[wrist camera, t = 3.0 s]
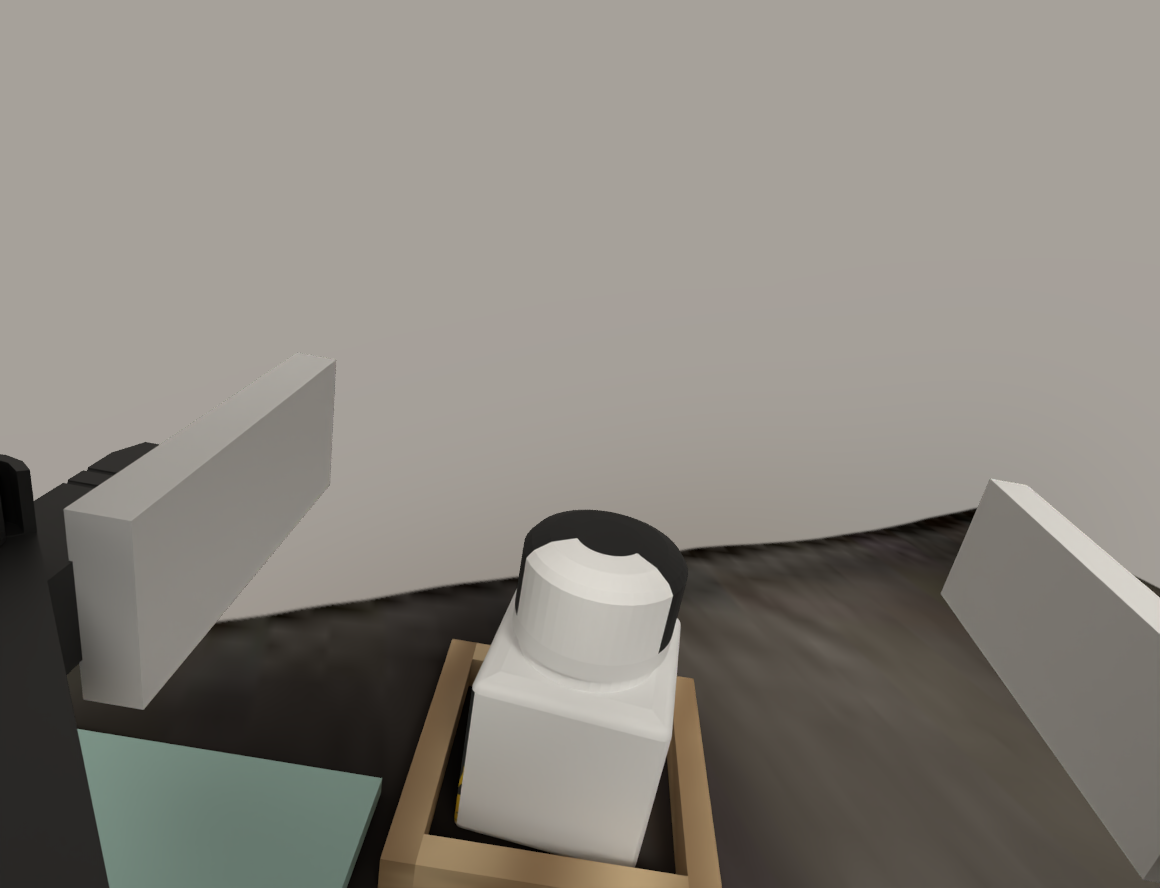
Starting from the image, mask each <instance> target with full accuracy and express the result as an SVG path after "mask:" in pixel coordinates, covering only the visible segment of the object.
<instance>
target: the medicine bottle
mask: <svg viewBox="0 0 1160 888" xmlns="http://www.w3.org/2000/svg"><path fill="white" fill-rule="evenodd" d="M687 577H688V568H687V565H686V562H685V560H684V558H683V556H682V554H681V553H680V551H679V549H678V548H677V546H676V545H675V544H674V543H673V542H672V541H671V540H670V539H669V538H668V537H667V536H666V535H664V534H663V533H662V532H660V531H658V530H657V529H656V528H654V527H652V526H650V525H648V524H646V523H644V522H642V521H639V520H637V519H634V518H631V517H628V516H625V515H621V514H617V513H612V512H607V511H598V510H573V511H566V512H562V513H558V514H555V515H552V516H550V517H548V518H546V519H544V520H543V521H541V522H540V523H539V524H537V525H536V526H535V527H534V528H532V529H531V530H530V532H529V533H528V534H527V536H526V538H525V542H524V548H523V554H522V560H521V566H520V573H519V579H518V585H517V589H516V591H515V594H514V596H513V598H512V600H511V602H510V605H509V607H508V609H507V611H506V613H505V615H504V618H503V620H502V622H501V624H500V626H499V628H498V631H497V633H496V635H495V637H494V639H493V642H492V644H491V646H490V648H489V650H488V652H487V655H486V657H485V659H484V661H483V663H482V666H481V668H480V670H479V672H478V674H477V676H476V679H475V681H474V683H473V685H472V692H471V699H470V707H469V714H468V721H467V728H466V736H465V743H464V750H463V758H462V765H461V772H460V779H459V787H458V794H457V801H456V809H455V817H454V820H455V823H456V825H457V826H458V827H460V828H463V829H467V830H470V831H474V832H477V833H481V834H485V835H488V836H492V837H495V838H499V839H503V840H506V841H510V842H514V843H517V844H521V845H524V846H528V847H532V848H535V849H539V850H542V851H546V852H550V853H553V854H557V855H561V856H565V857H571V858H577V859H583V860H590V861H596V862H602V863H608V864H614V865H621V866H627V867H633V868H635V866H636V863H637V860H638V856H639V852H640V849H641V845H642V842H643V838H644V834H645V831H646V827H647V824H648V820H649V817H650V813H651V809H652V806H653V802H654V799H655V795H656V792H657V788H658V784H659V781H660V777H661V774H662V770H663V767H664V763H665V759H666V756H667V752H668V749H669V745H670V741H671V738H672V729H673V716H674V704H675V691H676V678H677V666H678V653H679V641H680V628H681V626H680V621H679V620H678V619H677V616H678V612H679V608H680V604H681V601H682V597H683V593H684V589H685V585H686V581H687Z"/></svg>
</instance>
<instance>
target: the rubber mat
mask: <svg viewBox="0 0 1160 888" xmlns="http://www.w3.org/2000/svg"><path fill="white" fill-rule="evenodd" d="M77 730H78V735H79V740H80V745H81V750H82V755H83V760H84V765H85V769H86V774H87V779H88V784H89V789H90V794H91V799H92V804H93V809H94V814H95V819H96V824H97V829H98V833H99V838H100V843H101V848H102V853H103V858H104V863H105V868H106V873H107V878H108V883H109V888H347V886H348V883H349V880H350V878H351V875H352V872H353V869H354V867H355V864H356V861H357V858H358V855H359V853H360V850H361V847H362V844H363V842H364V839H365V836H366V833H367V830H368V828H369V825H370V822H371V819H372V816H373V814H374V811H375V808H376V805H377V803H378V800H379V797H380V794H381V786H382V778H378V777H371V776H365V775H359V774H353V773H347V772H340V771H334V770H328V769H322V768H316V767H310V766H303V765H297V764H291V763H285V762H279V761H272V760H266V759H260V758H254V757H248V756H242V755H235V754H229V753H223V752H217V751H211V750H204V749H198V748H192V747H186V746H180V745H174V744H167V743H161V742H155V741H149V740H143V739H136V738H130V737H124V736H118V735H112V734H106V733H99V732H93V731H87V730H81V729H77Z"/></svg>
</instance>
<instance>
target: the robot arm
mask: <svg viewBox="0 0 1160 888" xmlns="http://www.w3.org/2000/svg"><path fill="white" fill-rule="evenodd" d="M335 374H336V359H330V358H324V357H319V356H314V355H308V354H303V353H296V354H294V355H293V356H291V357H290V358H288V359H287V360H285V361H284V362H282V363H281V364H279V365H278V366H276V367H275V368H273V369H272V370H270V371H269V372H267V373H266V374H264V375H263V376H261V377H260V378H259V379H257V380H255V381H254V382H252V383H251V384H250V385H248V386H246V387H245V388H243V389H242V390H241V391H239V392H238V393H236V394H235V395H233V396H232V397H230V398H229V399H227V400H226V401H224V402H223V403H221V404H220V405H218V406H217V407H215V408H214V409H212V410H211V411H209V412H208V413H206V414H205V415H203V416H202V417H200V418H199V419H198V420H196V421H194V422H193V423H191V424H190V425H188V426H187V427H185V428H184V429H182V430H181V431H179V432H178V433H176V434H175V435H173V436H172V437H170V438H169V439H167V440H166V441H164V442H163V443H161V444H160V445H159V444H153V443H147V442H144V443H142V444H138V445H135V446H132V447H128V448H125V449H122V450H119V451H115V452H112V453H111V454H109V455H107V456H106V457H104V458H102V459H101V460H99V461H98V462H96V463H94V464H93V465H91V466H90V467H88V470H87V471H82V472H80V473H78V474H77V475H75V476H73V477H72V478H70V479H69V480H68V483H67V484H65V483H62V484H61V485H59V486H57V487H56V488H54V489H53V490H51V491H49V492H48V493H46V494H45V495H43V496H41V497H40V498H38V499H37V500H35V501H33V492H32V485H31V476H30V470H29V468H28V467H27V466H26V465H25V464H24V462H23V461H20V460H18V459H15V458H12V457H10V456H7V455H1V454H0V888H109V883H108V878H107V873H106V868H105V863H104V858H103V853H102V848H101V843H100V838H99V833H98V829H97V824H96V819H95V814H94V809H93V804H92V799H91V794H90V789H89V784H88V779H87V774H86V769H85V765H84V760H83V755H82V750H81V745H80V740H79V735H78V730H77V725H76V720H75V715H74V710H73V705H72V701H71V696H70V691H69V686H68V681H67V676H66V675H67V674H68V673H69V672H70V671H71V670H72V669H73V668H74V667H75V666H77V665H78V664H80V674H81V683H82V693H83V700H89V701H95V702H101V703H106V704H112V705H118V706H124V707H130V708H136V709H142V710H144V709H145V707H146V706H147V705H148V704H149V703H150V701H151V700H152V699H153V698H154V696H155V695H156V694H157V693H158V692H159V690H160V689H161V688H162V687H163V686H164V684H165V683H166V682H167V681H168V680H169V678H170V677H171V676H172V675H173V674H174V672H175V671H176V670H177V669H178V668H179V666H180V665H181V664H182V663H183V662H184V660H185V659H186V658H187V657H188V655H189V654H190V653H191V652H192V651H193V649H194V648H195V647H196V646H197V645H198V643H199V642H200V641H201V640H202V639H203V637H204V636H205V635H206V634H207V633H208V631H209V630H210V629H211V628H212V627H213V625H214V624H215V623H216V622H217V621H218V619H219V618H220V617H221V616H222V614H223V613H224V612H225V611H226V610H227V608H228V607H229V606H230V605H231V604H232V602H233V601H234V600H235V599H236V598H237V596H238V595H239V594H240V593H241V591H242V590H243V589H244V588H245V587H246V586H247V584H248V583H249V582H250V581H251V579H252V578H253V577H254V576H255V575H256V573H257V572H258V571H259V570H260V568H261V567H262V566H263V565H264V564H265V563H266V561H267V560H268V559H269V558H270V557H271V555H272V554H273V553H274V552H275V550H276V549H277V548H278V547H279V546H280V545H281V543H282V542H283V541H284V540H285V538H286V537H287V536H288V535H289V534H290V532H291V531H292V530H293V529H294V528H295V526H296V525H297V524H298V523H299V522H300V520H301V519H302V518H303V517H304V516H305V514H306V513H307V512H308V511H309V510H310V508H311V507H312V506H313V505H314V503H315V502H316V501H317V500H318V499H319V497H320V496H321V495H322V494H323V493H324V491H325V490H326V489H327V488H328V487H329V485H330V472H331V471H330V470H331V451H332V432H333V413H334V394H335ZM941 595H942V596H943V598H944V599H945V601H946V602H947V604H948V605H949V606H950V608H951V609H952V611H953V612H954V613H955V615H956V616H957V618H958V619H959V621H960V622H961V623H962V625H963V626H964V628H965V629H966V630H967V632H968V633H969V635H970V636H971V637H972V639H973V640H974V642H975V643H976V645H977V646H978V647H979V649H980V650H981V652H982V653H983V654H984V656H985V657H986V659H987V660H988V662H989V663H990V664H991V666H992V667H993V669H994V670H995V671H996V673H997V674H998V676H999V677H1000V678H1001V680H1002V681H1003V683H1004V684H1005V686H1006V687H1007V688H1008V690H1009V691H1010V693H1011V694H1012V695H1013V697H1014V698H1015V700H1016V701H1017V703H1018V704H1019V705H1020V707H1021V708H1022V710H1023V711H1024V712H1025V714H1026V715H1027V717H1028V718H1029V719H1030V721H1031V722H1032V724H1033V725H1034V727H1035V728H1036V729H1037V731H1038V732H1039V734H1040V735H1041V736H1042V738H1043V739H1044V741H1045V742H1046V744H1047V745H1048V746H1049V748H1050V749H1051V751H1052V752H1053V753H1054V755H1055V756H1056V758H1057V759H1058V760H1059V762H1060V763H1061V765H1062V766H1063V768H1064V769H1065V770H1066V772H1067V773H1068V775H1069V776H1070V777H1071V779H1072V780H1073V782H1074V783H1075V785H1076V786H1077V787H1078V789H1079V790H1080V792H1081V793H1082V794H1083V796H1084V797H1085V799H1086V800H1087V802H1088V803H1089V804H1090V806H1091V807H1092V809H1093V810H1094V811H1095V813H1096V814H1097V816H1098V817H1099V818H1100V820H1101V821H1102V823H1103V824H1104V826H1105V827H1106V828H1107V830H1108V831H1109V833H1110V834H1111V835H1112V837H1113V838H1114V840H1115V841H1116V843H1117V844H1118V845H1119V847H1120V848H1121V850H1122V851H1123V852H1124V854H1125V855H1126V857H1127V858H1128V859H1129V861H1130V862H1131V864H1132V865H1133V867H1134V868H1135V869H1136V871H1137V872H1138V874H1139V875H1140V876H1141V878H1142V879H1143V880H1147V881H1153V882H1159V883H1160V598H1159V597H1158V596H1157V595H1156V594H1155V593H1154V592H1152V591H1151V590H1150V589H1149V588H1148V587H1146V586H1145V585H1144V584H1143V583H1142V582H1141V581H1139V580H1138V579H1137V578H1136V577H1135V576H1134V575H1132V574H1131V573H1130V572H1129V571H1128V570H1126V569H1125V568H1124V567H1123V566H1122V565H1121V564H1119V563H1118V562H1117V561H1116V560H1115V559H1114V558H1112V557H1111V556H1110V555H1109V554H1108V553H1106V552H1105V551H1104V550H1103V549H1102V548H1100V547H1099V546H1098V545H1097V544H1096V543H1095V542H1093V541H1092V540H1091V539H1090V538H1089V537H1088V536H1086V535H1085V534H1084V533H1083V532H1082V531H1080V530H1079V529H1078V528H1077V527H1076V526H1074V525H1073V524H1072V523H1071V522H1070V521H1069V520H1068V519H1066V518H1065V517H1064V516H1063V515H1062V514H1060V513H1059V512H1058V511H1057V510H1056V509H1055V508H1053V507H1052V506H1051V505H1050V504H1049V503H1047V502H1046V501H1045V500H1044V499H1043V498H1042V497H1040V496H1039V495H1038V494H1037V493H1036V492H1035V491H1033V490H1032V489H1031V488H1030V487H1029V486H1027V485H1022V484H1017V483H1012V482H1006V481H1001V480H995V479H990V480H989V482H988V485H987V487H986V489H985V492H984V494H983V496H982V499H981V501H980V503H979V506H978V508H977V510H976V513H975V515H974V517H973V520H972V522H971V524H970V527H969V529H968V531H967V534H966V536H965V538H964V540H963V543H962V545H961V547H960V550H959V552H958V554H957V557H956V559H955V561H954V564H953V566H952V568H951V571H950V573H949V575H948V578H947V580H946V582H945V585H944V587H943V589H942V592H941Z"/></svg>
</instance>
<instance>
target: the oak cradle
mask: <svg viewBox="0 0 1160 888" xmlns="http://www.w3.org/2000/svg"><path fill="white" fill-rule="evenodd" d="M490 646H491V645H486V644H480V643H474V642H468V641H462V640H456V639H452V642H451V645H450V648H449V651H448V654H447V657H446V660H445V663H444V666H443V669H442V672H441V675H440V678H439V681H438V684H437V687H436V691H435V694H434V697H433V700H432V703H431V706H430V709H429V712H428V715H427V718H426V721H425V724H424V727H423V730H422V733H421V736H420V739H419V742H418V745H417V748H416V751H415V754H414V758H413V761H412V764H411V767H410V770H409V773H408V776H407V779H406V782H405V785H404V788H403V791H402V794H401V797H400V800H399V803H398V806H397V809H396V812H395V815H394V818H393V822H392V825H391V828H390V831H389V834H388V837H387V840H386V843H385V846H384V849H383V852H382V855H381V858H380V867H379V879H378V888H722V885H721V878H720V870H719V863H718V856H717V848H716V841H715V834H714V826H713V819H712V811H711V804H710V797H709V789H708V782H707V775H706V767H705V760H704V753H703V745H702V738H701V731H700V723H699V716H698V709H697V701H696V694H695V687H694V679H691V678H685V677H679V676H677V678H676V691H675V704H674V716H673V729H672V738H671V741H670V745H669V749H668V752H667V765H668V778H669V791H670V804H671V817H672V830H673V843H674V856H675V870H676V874H670V873H664V872H658V871H652V870H646V869H639V868H633V867H627V866H621V865H614V864H608V863H602V862H596V861H590V860H583V859H577V858H571V857H565V856H558V855H552V854H546V853H540V852H533V851H527V850H521V849H515V848H509V847H502V846H496V845H490V844H484V843H477V842H471V841H465V840H459V839H452V838H446V837H440V836H434V835H428V834H429V831H430V827H431V823H432V820H433V816H434V812H435V809H436V805H437V801H438V798H439V794H440V790H441V786H442V783H443V779H444V775H445V772H446V768H447V764H448V761H449V757H450V753H451V750H452V746H453V742H454V739H455V735H456V731H457V727H458V724H459V720H460V716H461V713H462V709H463V705H464V702H465V698H466V694H467V691H468V687H469V686H472V685H473V683H474V681H475V679H476V676H477V674H478V672H479V670H480V668H481V666H482V663H483V661H484V659H485V657H486V655H487V652H488V650H489V648H490Z"/></svg>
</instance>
